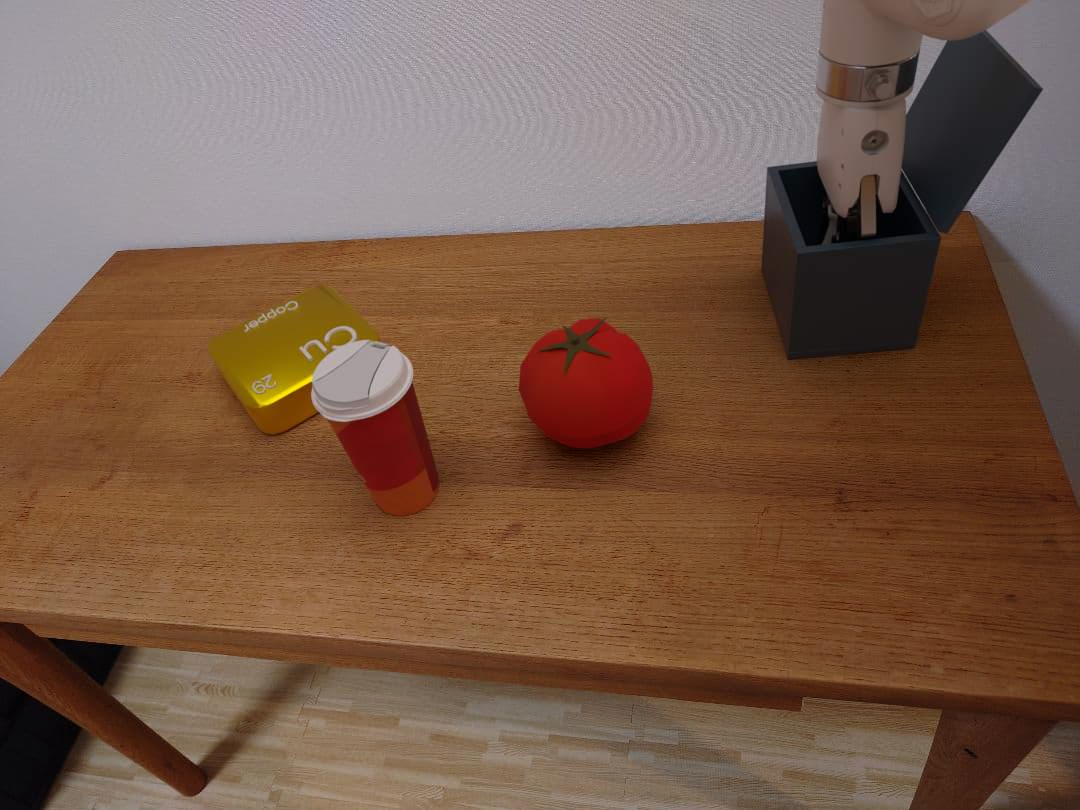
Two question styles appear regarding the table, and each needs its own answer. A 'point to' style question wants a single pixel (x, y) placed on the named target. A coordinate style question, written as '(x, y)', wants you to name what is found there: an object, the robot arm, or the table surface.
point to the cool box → (844, 270)
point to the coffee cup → (378, 423)
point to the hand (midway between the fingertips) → (840, 256)
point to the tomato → (586, 384)
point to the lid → (963, 123)
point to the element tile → (286, 354)
